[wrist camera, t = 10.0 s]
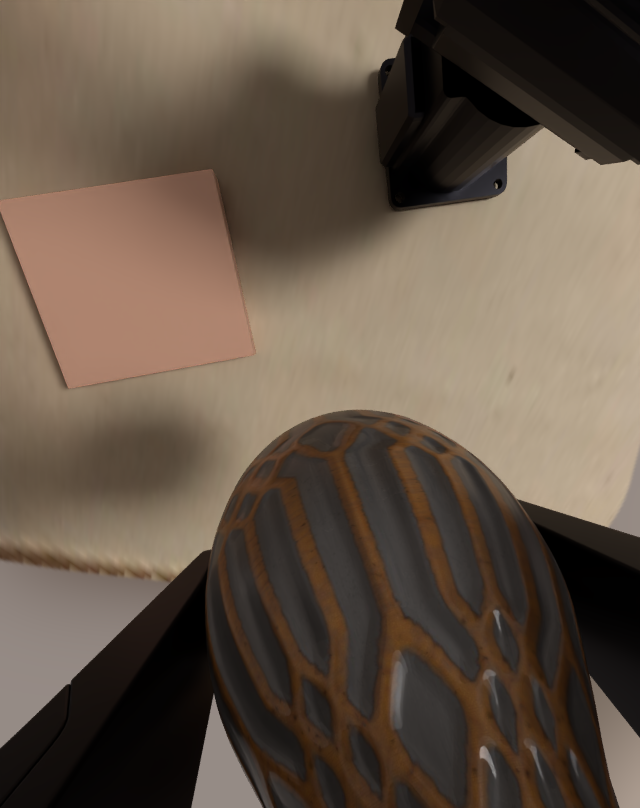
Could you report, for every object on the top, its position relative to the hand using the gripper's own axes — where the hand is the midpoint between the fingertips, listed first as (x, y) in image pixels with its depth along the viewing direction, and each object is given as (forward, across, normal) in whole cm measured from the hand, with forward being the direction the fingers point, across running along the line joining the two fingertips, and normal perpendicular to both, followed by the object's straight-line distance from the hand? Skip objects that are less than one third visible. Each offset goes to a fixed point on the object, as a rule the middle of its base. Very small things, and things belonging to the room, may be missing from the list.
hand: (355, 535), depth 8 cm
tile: (+11, +8, -13) cm, 19 cm away
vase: (+3, 0, 0) cm, 3 cm away
